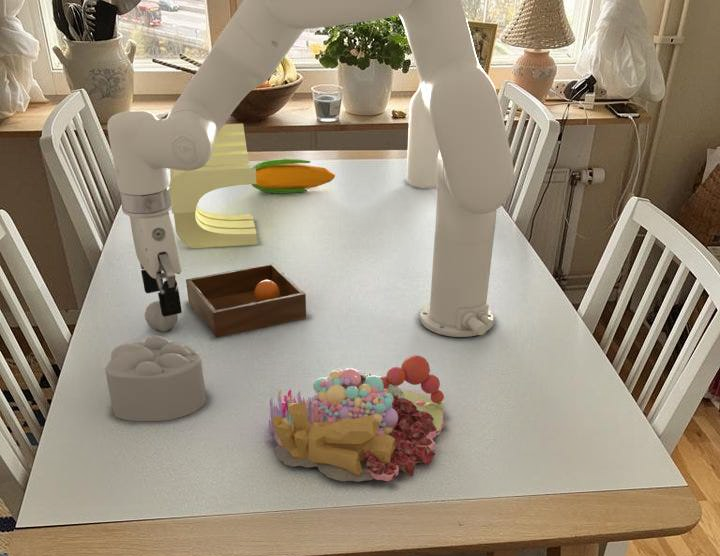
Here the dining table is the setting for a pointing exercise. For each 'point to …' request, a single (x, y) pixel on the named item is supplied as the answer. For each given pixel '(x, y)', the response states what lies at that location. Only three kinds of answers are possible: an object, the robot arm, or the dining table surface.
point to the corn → (289, 176)
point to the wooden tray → (244, 300)
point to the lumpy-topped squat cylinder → (155, 380)
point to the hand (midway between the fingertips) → (163, 302)
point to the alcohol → (421, 146)
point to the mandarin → (266, 291)
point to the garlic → (159, 317)
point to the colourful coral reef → (361, 423)
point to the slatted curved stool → (217, 173)
